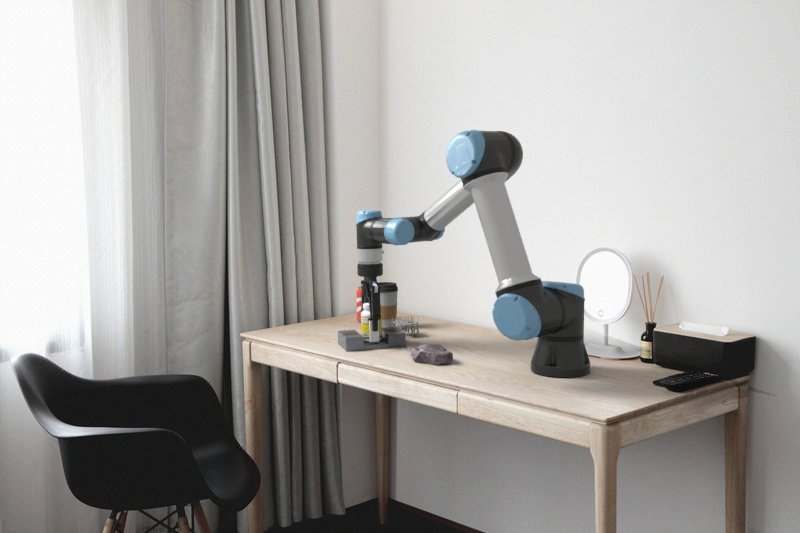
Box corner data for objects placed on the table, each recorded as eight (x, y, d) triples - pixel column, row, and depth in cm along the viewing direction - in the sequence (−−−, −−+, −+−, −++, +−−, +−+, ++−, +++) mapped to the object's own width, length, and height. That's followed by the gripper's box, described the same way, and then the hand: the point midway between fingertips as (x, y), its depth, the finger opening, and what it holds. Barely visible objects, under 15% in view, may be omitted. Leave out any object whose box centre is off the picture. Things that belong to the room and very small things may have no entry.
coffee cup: (369, 327, 275) (368, 283, 274) (392, 325, 279) (391, 281, 277) (379, 332, 268) (378, 286, 266) (402, 329, 271) (402, 284, 270)
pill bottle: (383, 338, 251) (382, 301, 250) (380, 342, 245) (380, 305, 243) (363, 338, 252) (362, 301, 250) (360, 342, 245) (359, 305, 244)
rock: (439, 368, 220) (439, 351, 219) (406, 362, 227) (406, 345, 227) (458, 362, 226) (458, 346, 226) (425, 356, 233) (425, 340, 233)
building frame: (408, 332, 267) (408, 314, 266) (421, 337, 260) (421, 318, 259) (391, 335, 264) (391, 316, 263) (404, 339, 257) (404, 320, 256)
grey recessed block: (405, 346, 246) (405, 333, 245) (346, 351, 241) (345, 337, 240) (395, 339, 256) (394, 326, 256) (338, 343, 251) (337, 330, 251)
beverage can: (367, 319, 291) (366, 285, 290) (378, 321, 286) (377, 287, 285) (353, 321, 287) (352, 287, 286) (364, 324, 282) (363, 289, 281)
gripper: (391, 265, 237) (392, 344, 240) (373, 258, 256) (375, 332, 258) (365, 266, 235) (367, 346, 238) (350, 259, 253) (351, 334, 256)
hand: (371, 339), depth 248 cm, fingers closed on pill bottle, 6 cm apart
